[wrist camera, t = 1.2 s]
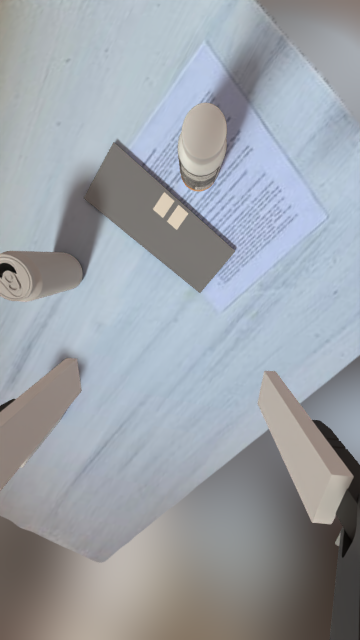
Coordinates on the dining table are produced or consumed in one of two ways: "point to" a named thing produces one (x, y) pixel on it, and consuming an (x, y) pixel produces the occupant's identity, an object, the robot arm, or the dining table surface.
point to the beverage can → (37, 274)
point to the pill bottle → (202, 146)
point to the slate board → (157, 219)
